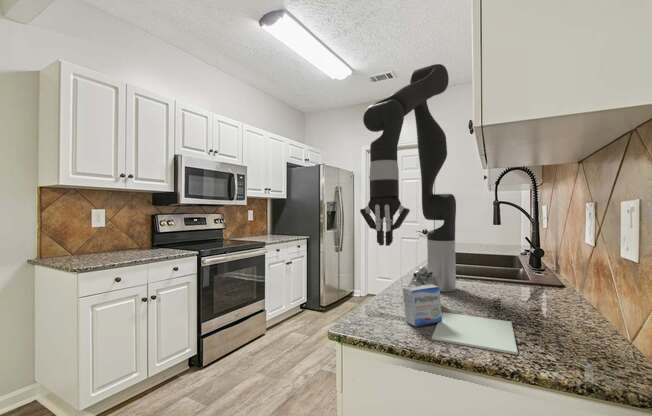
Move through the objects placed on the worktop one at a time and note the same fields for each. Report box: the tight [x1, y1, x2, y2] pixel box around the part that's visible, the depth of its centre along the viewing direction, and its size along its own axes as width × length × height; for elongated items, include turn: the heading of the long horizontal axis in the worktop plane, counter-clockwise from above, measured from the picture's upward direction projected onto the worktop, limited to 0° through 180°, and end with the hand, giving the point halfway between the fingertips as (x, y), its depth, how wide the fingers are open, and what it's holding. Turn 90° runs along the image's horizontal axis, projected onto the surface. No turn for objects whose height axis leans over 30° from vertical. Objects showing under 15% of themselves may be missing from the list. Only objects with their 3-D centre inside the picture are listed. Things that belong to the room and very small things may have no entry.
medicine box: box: [402, 284, 442, 327], centre depth 78 cm, size 8×4×9 cm, turn 106°
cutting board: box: [431, 311, 519, 356], centre depth 72 cm, size 18×16×1 cm
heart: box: [406, 266, 439, 288], centre depth 93 cm, size 10×10×12 cm
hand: (384, 245), depth 82 cm, fingers closed
